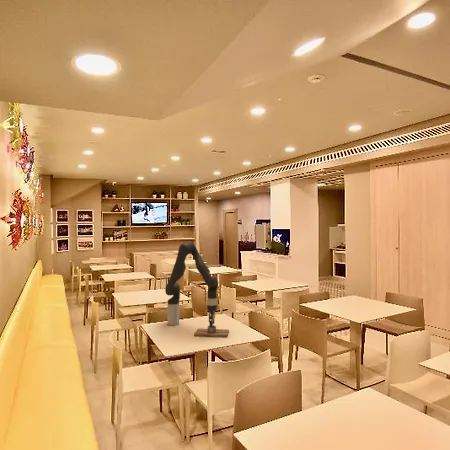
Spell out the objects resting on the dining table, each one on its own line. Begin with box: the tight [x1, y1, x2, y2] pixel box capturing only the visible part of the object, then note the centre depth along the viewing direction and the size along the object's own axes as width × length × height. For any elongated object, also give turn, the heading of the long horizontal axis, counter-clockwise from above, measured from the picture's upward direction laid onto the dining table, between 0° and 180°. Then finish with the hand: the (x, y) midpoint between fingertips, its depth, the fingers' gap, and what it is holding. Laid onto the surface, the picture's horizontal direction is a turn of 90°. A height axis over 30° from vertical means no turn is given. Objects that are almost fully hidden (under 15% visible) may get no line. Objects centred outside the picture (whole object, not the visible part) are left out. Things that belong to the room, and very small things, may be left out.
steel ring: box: [207, 324, 217, 333], centre depth 267 cm, size 6×6×4 cm
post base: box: [193, 328, 230, 339], centre depth 267 cm, size 14×24×6 cm, turn 83°
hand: (211, 325), depth 267 cm, fingers open, 8 cm apart
